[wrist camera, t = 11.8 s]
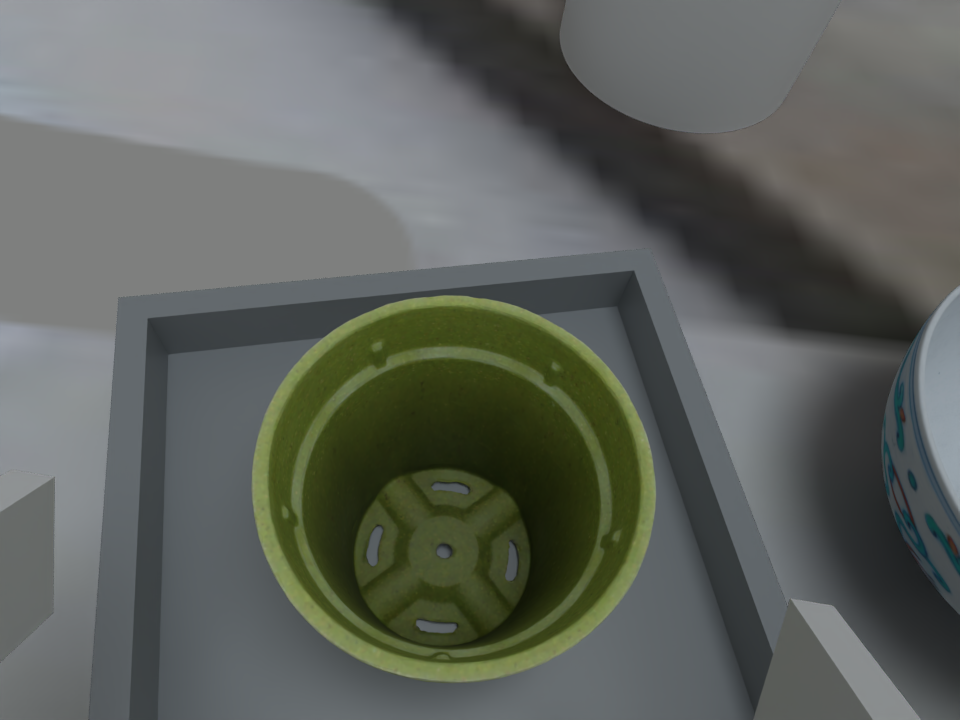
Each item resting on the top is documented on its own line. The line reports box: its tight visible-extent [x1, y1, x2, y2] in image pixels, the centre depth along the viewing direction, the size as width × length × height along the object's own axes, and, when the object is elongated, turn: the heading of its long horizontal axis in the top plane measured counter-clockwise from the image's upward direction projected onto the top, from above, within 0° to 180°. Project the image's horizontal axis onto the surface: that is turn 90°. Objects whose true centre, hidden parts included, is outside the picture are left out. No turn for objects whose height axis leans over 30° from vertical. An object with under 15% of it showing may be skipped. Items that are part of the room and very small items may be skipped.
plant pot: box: [251, 295, 656, 683], centre depth 20 cm, size 9×9×9 cm
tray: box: [89, 248, 788, 720], centre depth 23 cm, size 20×20×4 cm
